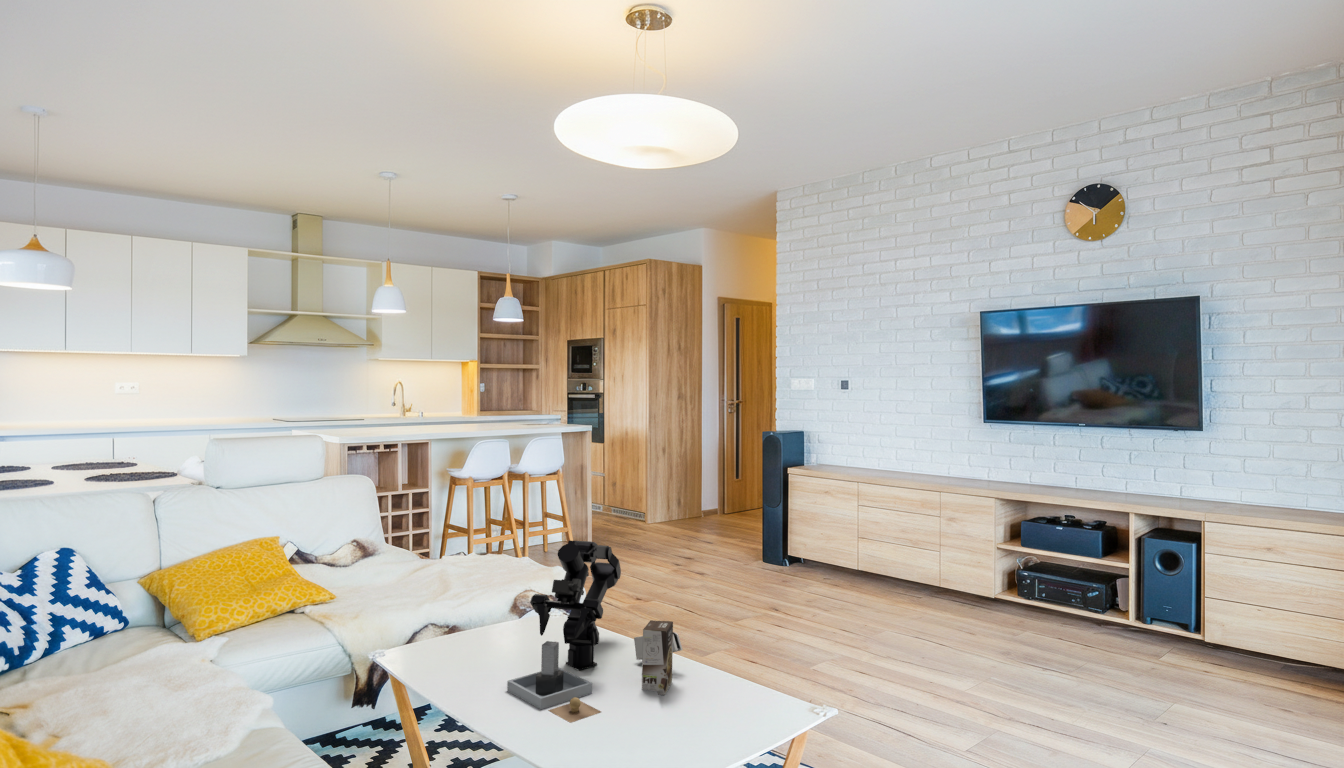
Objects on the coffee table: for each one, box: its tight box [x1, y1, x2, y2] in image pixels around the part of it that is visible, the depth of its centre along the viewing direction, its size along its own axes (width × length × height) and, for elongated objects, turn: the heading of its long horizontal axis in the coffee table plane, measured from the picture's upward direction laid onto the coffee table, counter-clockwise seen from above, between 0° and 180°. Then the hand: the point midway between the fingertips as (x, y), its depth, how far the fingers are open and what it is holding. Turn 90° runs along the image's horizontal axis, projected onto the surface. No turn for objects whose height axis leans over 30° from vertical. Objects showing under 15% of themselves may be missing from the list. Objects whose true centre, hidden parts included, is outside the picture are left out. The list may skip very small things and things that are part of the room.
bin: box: [506, 666, 593, 710], centre depth 192 cm, size 15×15×4 cm
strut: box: [536, 640, 563, 696], centre depth 192 cm, size 5×5×12 cm
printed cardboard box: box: [633, 631, 684, 661], centre depth 212 cm, size 4×10×15 cm
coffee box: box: [641, 620, 674, 696], centre depth 198 cm, size 9×6×16 cm
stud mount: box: [547, 697, 602, 724], centre depth 180 cm, size 9×9×4 cm
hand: (557, 636), depth 197 cm, fingers open, 9 cm apart
